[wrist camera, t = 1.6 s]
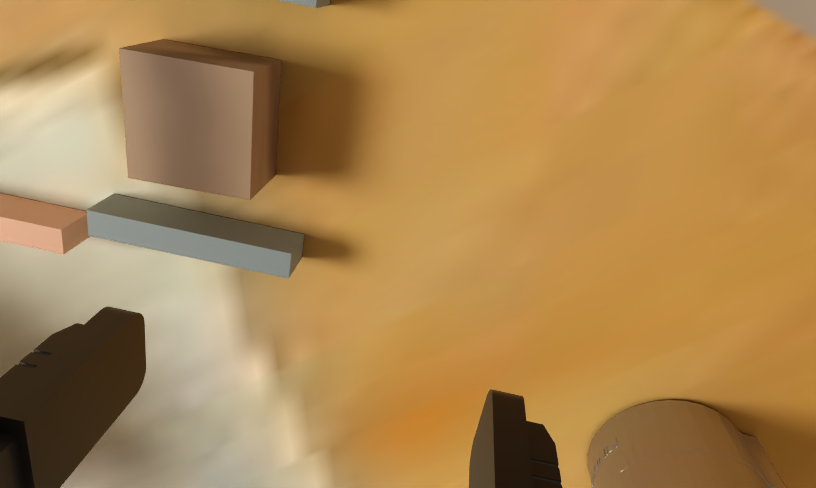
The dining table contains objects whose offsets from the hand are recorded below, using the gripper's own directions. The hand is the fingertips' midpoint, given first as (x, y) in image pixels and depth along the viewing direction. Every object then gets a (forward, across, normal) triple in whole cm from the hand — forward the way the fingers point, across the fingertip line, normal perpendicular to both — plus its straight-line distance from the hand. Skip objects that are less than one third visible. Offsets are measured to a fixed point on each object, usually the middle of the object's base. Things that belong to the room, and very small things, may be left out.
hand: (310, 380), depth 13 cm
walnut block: (+18, +10, 0) cm, 21 cm away
